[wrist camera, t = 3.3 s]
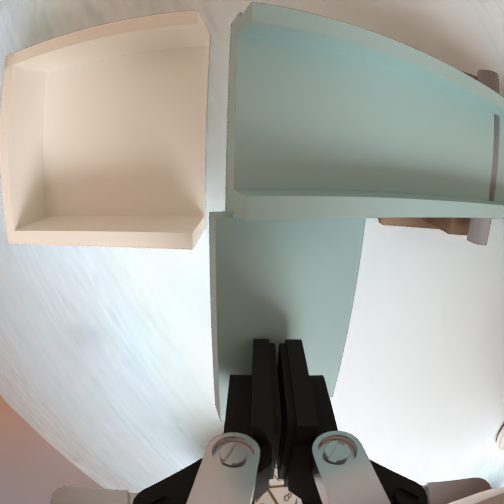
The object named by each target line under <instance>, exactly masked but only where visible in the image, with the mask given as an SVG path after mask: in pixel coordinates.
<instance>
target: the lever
mask: <svg viewBox="0 0 504 504" xmlns="http://www.w3.org/2000/svg"><path fill="white" fill-rule="evenodd" d="M398 217H453V218H470V225H469V230H468V236H467V240H468V241H470V242H472V243H475V244H479V245H487V240H488V235H489V230H490V224H491V218H504V97H502V96H501V95H499V82H498V74H497V73H495V72H493V71H489V70H479V71H478V81H477V80H475V79H474V78H472V77H470V76H469V75H467V74H465V73H463V72H461V71H460V70H458V69H456V68H454V67H452V66H450V65H448V64H447V63H445V62H443V61H441V60H439V59H437V58H435V57H432V56H430V55H428V54H426V53H424V52H422V51H420V50H417V49H415V48H413V47H411V46H408V45H406V44H404V43H401V42H399V41H396V40H394V39H391V38H389V37H386V36H384V35H381V34H378V33H375V32H373V31H370V30H367V29H364V28H361V27H358V26H355V25H352V24H349V23H345V22H342V21H339V20H335V19H332V18H328V17H324V16H320V15H317V14H313V13H308V12H304V11H300V10H295V9H290V8H285V7H280V6H275V5H269V4H263V3H257V2H252V3H251V4H250V5H249V7H248V8H247V9H246V10H245V12H244V13H239V14H238V15H237V17H236V18H235V19H234V21H233V22H232V24H231V37H230V59H229V83H228V112H227V149H226V205H225V211H224V212H209V245H210V297H211V328H212V352H213V373H214V391H215V406H216V409H217V412H218V415H219V418H220V421H221V422H223V421H225V415H226V406H227V396H228V387H229V378H230V374H233V375H252V360H253V339H269V343H275V348H276V360H277V362H278V352H279V344H280V343H285V340H286V339H301V340H302V343H303V348H304V353H305V358H306V362H307V367H308V372H309V375H323V376H324V378H325V382H326V386H327V390H328V393H329V397H333V393H334V389H335V385H336V381H337V377H338V373H339V369H340V365H341V360H342V356H343V352H344V347H345V342H346V338H347V333H348V328H349V323H350V318H351V312H352V307H353V301H354V296H355V290H356V284H357V278H358V271H359V265H360V258H361V251H362V243H363V236H364V227H365V219H366V218H398Z"/></svg>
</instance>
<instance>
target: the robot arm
mask: <svg viewBox="0 0 504 504" xmlns="http://www.w3.org/2000/svg"><path fill="white" fill-rule="evenodd" d="M496 443H497V446H498V447H499V449H500V450H504V426H503V428H502V430H501V431H500V433H499V435H498V437H497V441H496ZM276 460H277V474H278V479H284V487H288V491H290V492H291V493H293V494H294V495H296V496H297V503H298V504H504V487H499V488H494V489H491V487H490V484H489V483H488V482H487V481H486V480H484V479H482V478H468V479H461V480H453V481H443V482H431V483H427V484H426V485H424V486H421V485H419V484H418V483H416V482H414V481H412V480H410V479H408V478H406V477H403V476H401V475H399V474H397V473H395V472H393V471H391V470H389V469H387V468H385V467H383V466H381V465H379V464H377V463H375V462H373V461H371V460H369V458H368V456H367V454H366V452H365V450H364V448H363V446H362V444H361V443H360V442H359V440H358V439H357V438H356V437H354V436H353V435H352V434H349V433H347V432H343V431H338V429H337V425H336V421H335V417H334V413H333V409H332V405H331V401H330V397H329V393H328V390H327V386H326V382H325V378H324V376H323V375H309V372H308V367H307V362H306V358H305V353H304V348H303V343H302V340H301V339H286V340H285V343H280V344H279V352H278V362H277V360H276V348H275V343H269V339H253V360H252V375H233V374H230V378H229V387H228V396H227V406H226V415H225V425H224V434H221V435H218V436H216V437H215V438H213V439H212V440H211V441H210V442H209V444H208V446H207V448H206V451H205V453H204V456H203V458H202V459H200V460H198V461H196V462H195V463H193V464H191V465H190V466H188V467H186V468H184V469H182V470H181V471H179V472H177V473H175V474H173V475H171V476H170V477H168V478H166V479H164V480H162V481H160V482H158V483H156V484H154V485H152V486H150V487H148V488H146V489H144V490H143V491H141V492H140V493H129V492H128V490H112V489H98V488H87V487H78V486H62V487H60V488H58V489H56V491H54V492H53V494H52V497H51V500H50V504H255V503H256V500H257V499H258V498H259V497H261V496H262V495H263V494H264V493H266V492H267V491H268V486H269V480H270V479H273V477H274V471H275V466H276Z"/></svg>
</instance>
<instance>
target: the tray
mask: <svg viewBox="0 0 504 504" xmlns="http://www.w3.org/2000/svg"><path fill="white" fill-rule="evenodd" d="M209 50H210V34H209V32H208V30H207V28H206V25H205V23H204V21H203V19H202V17H201V15H200V12H199V10H193V11H182V12H172V13H164V14H156V15H149V16H143V17H137V18H131V19H126V20H121V21H116V22H111V23H107V24H103V25H98V26H94V27H90V28H86V29H83V30H79V31H76V32H72V33H69V34H65V35H62V36H59V37H56V38H53V39H50V40H47V41H44V42H41V43H38V44H36V45H33V46H30V47H28V48H25V49H23V50H20V51H18V52H15V53H13V54H11V55H8V56H6V61H5V68H4V76H3V86H2V97H1V112H0V171H1V187H2V199H3V208H4V217H5V224H6V231H7V238H8V243H9V244H40V245H70V246H101V247H131V248H161V249H191V250H193V248H194V246H195V245H196V243H197V241H198V240H199V238H200V236H201V235H202V233H203V232H204V230H205V228H206V219H205V181H206V122H207V92H208V69H209Z"/></svg>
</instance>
